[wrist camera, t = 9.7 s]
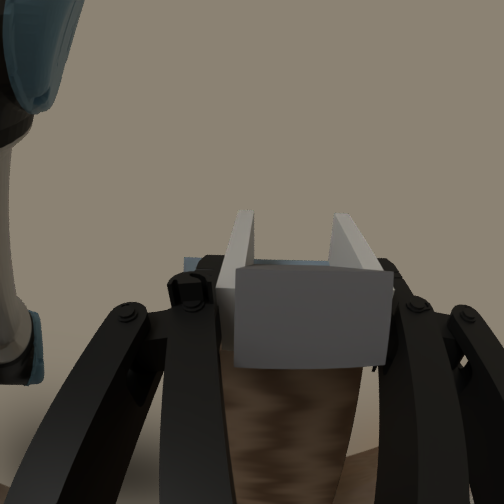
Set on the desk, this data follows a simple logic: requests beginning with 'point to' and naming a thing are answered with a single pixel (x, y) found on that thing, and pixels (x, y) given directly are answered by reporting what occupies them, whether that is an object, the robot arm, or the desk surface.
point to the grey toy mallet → (309, 315)
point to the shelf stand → (288, 430)
